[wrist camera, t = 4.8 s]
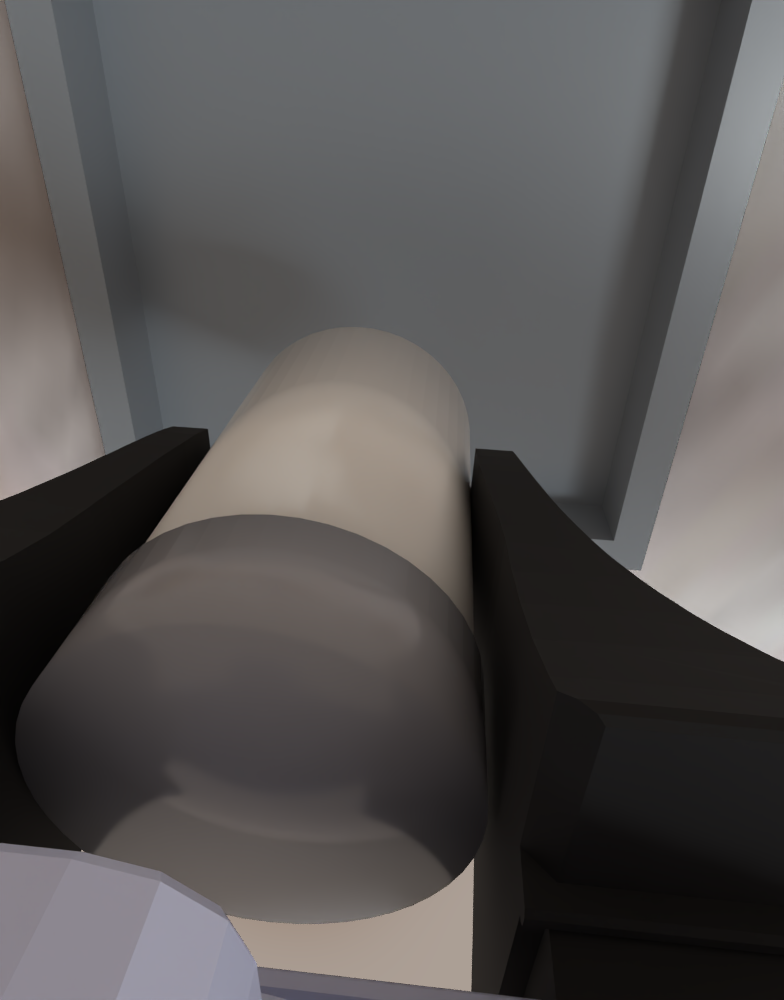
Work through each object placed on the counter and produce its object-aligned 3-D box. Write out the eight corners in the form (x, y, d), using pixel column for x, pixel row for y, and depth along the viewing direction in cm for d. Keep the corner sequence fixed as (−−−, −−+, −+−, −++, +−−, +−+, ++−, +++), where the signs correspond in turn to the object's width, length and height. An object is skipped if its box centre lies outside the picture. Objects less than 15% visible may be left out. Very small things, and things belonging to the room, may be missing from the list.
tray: (792, -123, 14) (853, -162, 12) (623, 523, 22) (640, 570, 20) (37, -138, 15) (-35, -177, 12) (153, 489, 23) (122, 530, 21)
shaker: (484, 326, 12) (513, 644, 5) (466, 537, 14) (469, 942, 8) (231, 316, 12) (-55, 603, 5) (256, 524, 15) (79, 901, 8)
